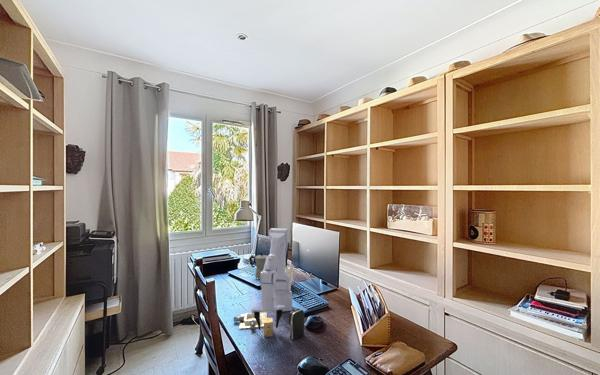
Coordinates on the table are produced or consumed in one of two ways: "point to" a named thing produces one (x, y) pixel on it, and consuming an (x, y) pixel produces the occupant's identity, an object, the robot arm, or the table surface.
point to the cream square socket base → (250, 320)
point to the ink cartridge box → (290, 272)
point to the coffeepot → (258, 263)
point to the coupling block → (268, 327)
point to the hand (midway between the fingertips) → (268, 327)
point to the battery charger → (296, 323)
